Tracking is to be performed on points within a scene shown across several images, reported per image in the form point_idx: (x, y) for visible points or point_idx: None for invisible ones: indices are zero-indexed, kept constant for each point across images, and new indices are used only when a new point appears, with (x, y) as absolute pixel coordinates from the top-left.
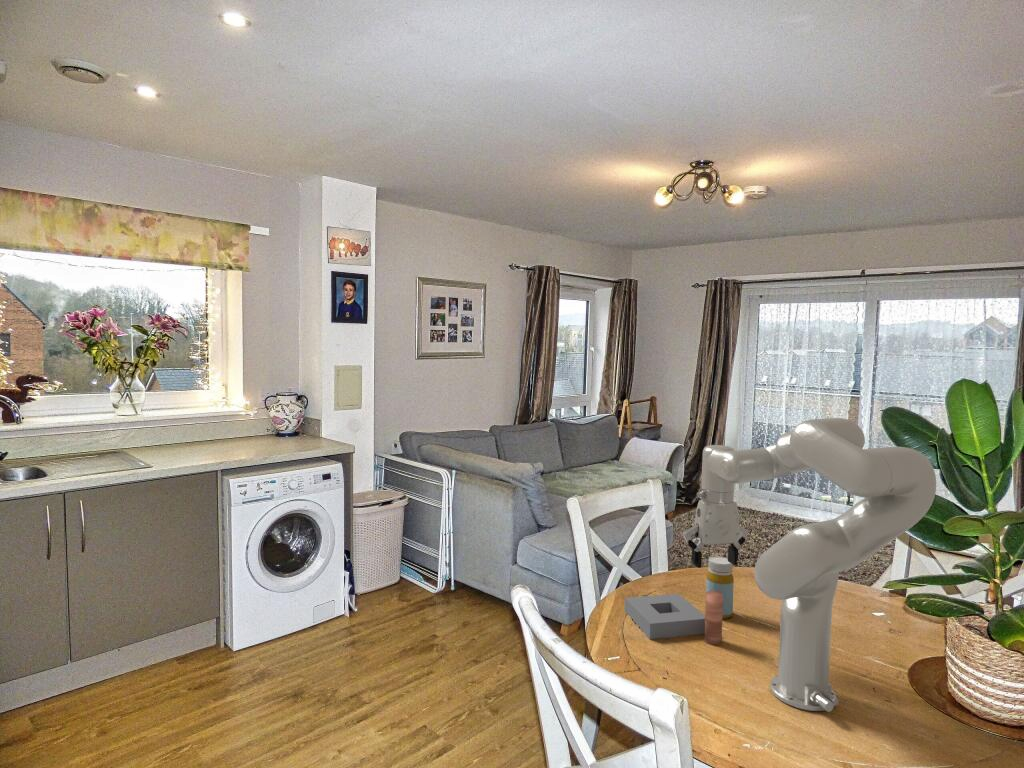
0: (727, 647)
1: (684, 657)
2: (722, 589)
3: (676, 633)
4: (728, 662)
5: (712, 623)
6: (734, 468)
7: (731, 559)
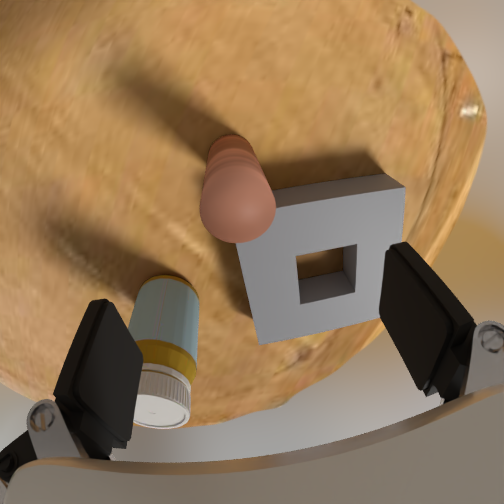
0: (202, 124)
1: (340, 78)
2: (158, 327)
3: (322, 185)
4: (232, 45)
5: (246, 149)
6: None
7: (120, 347)
